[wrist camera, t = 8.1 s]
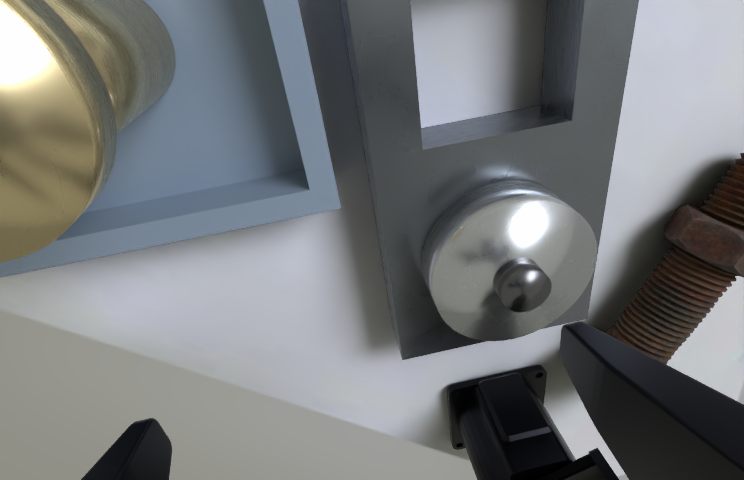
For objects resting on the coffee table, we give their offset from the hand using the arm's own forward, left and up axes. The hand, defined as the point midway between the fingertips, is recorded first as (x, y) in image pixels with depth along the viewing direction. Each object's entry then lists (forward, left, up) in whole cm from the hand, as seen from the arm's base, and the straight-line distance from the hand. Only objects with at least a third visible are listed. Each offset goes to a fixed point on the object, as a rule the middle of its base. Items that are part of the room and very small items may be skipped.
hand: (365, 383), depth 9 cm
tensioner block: (0, -7, -11) cm, 13 cm away
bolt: (-9, -18, -12) cm, 23 cm away
